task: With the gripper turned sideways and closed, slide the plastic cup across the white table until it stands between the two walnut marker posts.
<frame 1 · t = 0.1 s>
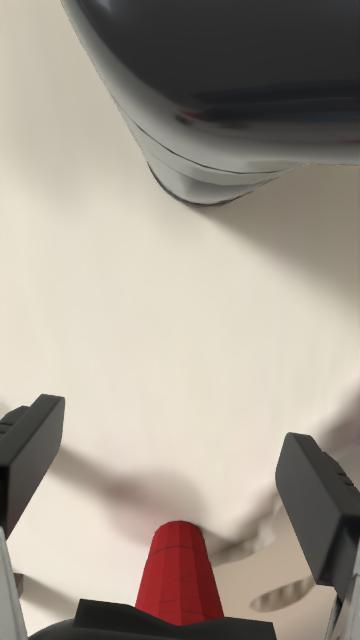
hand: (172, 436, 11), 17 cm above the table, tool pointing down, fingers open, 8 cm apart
post 1: (10, 581, 38), on the table
plastic cup: (180, 537, 36), on the table
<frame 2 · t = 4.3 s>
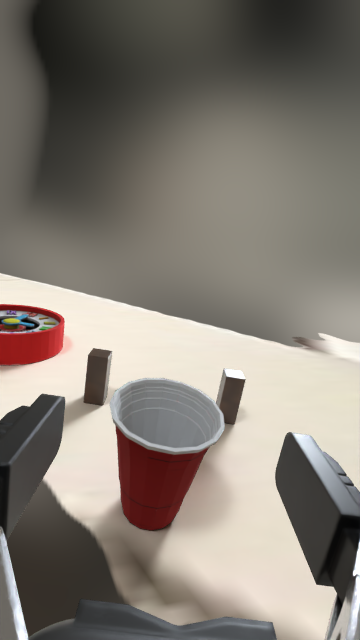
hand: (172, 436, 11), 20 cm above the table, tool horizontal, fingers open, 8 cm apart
post 2: (223, 418, 51), on the table
toy clock: (10, 345, 64), on the table
post 1: (95, 399, 50), on the table
plastic cup: (150, 508, 32), on the table
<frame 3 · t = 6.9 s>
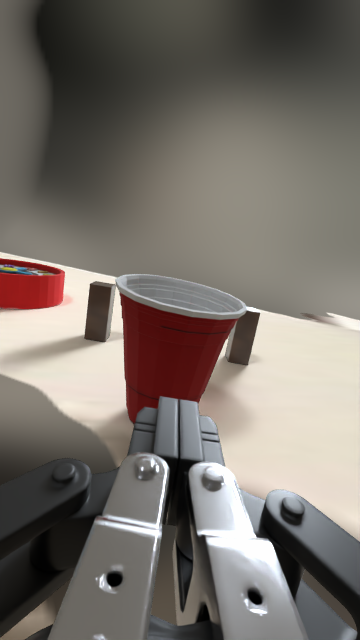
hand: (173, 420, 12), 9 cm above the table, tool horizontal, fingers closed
post 2: (236, 359, 47), on the table
toy clock: (7, 296, 61), on the table
post 1: (97, 337, 46), on the table
plastic cup: (159, 419, 28), on the table
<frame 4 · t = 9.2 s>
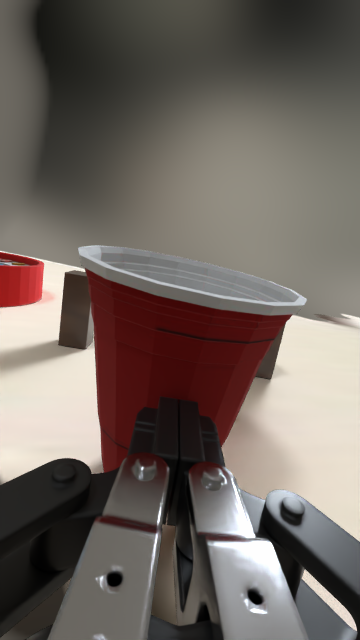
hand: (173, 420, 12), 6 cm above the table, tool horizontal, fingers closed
post 2: (255, 372, 37), on the table
post 1: (76, 343, 36), on the table
plastic cup: (155, 476, 18), on the table, touching gripper
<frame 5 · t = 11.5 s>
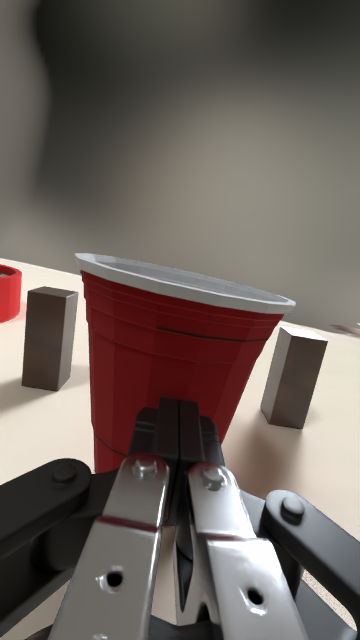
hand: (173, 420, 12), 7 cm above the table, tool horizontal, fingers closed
post 2: (280, 417, 28), on the table
post 1: (47, 381, 27), on the table
plastic cup: (150, 487, 17), on the table, touching gripper
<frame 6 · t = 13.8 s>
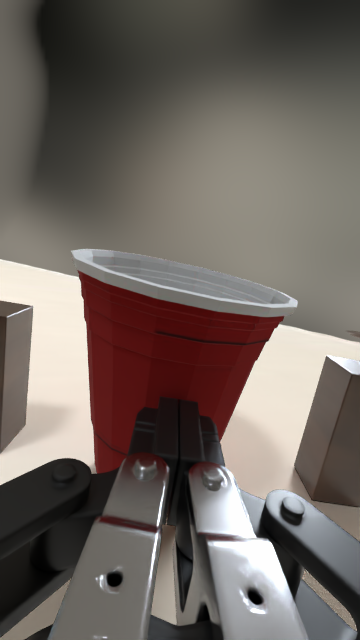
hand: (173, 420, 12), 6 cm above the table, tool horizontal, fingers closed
post 2: (324, 485, 20), on the table
plastic cup: (149, 481, 18), on the table, touching gripper
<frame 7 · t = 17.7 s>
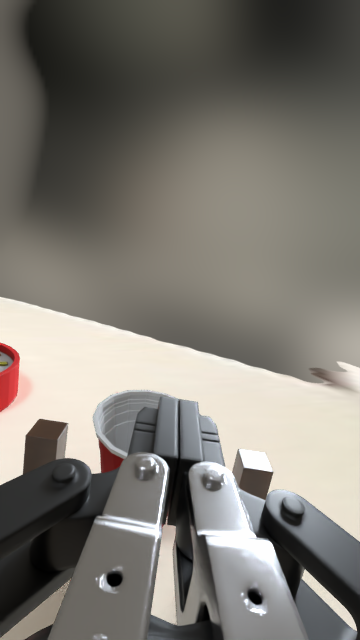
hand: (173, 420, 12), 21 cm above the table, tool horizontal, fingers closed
post 2: (238, 523, 34), on the table
post 1: (41, 496, 33), on the table
plastic cup: (134, 524, 32), on the table
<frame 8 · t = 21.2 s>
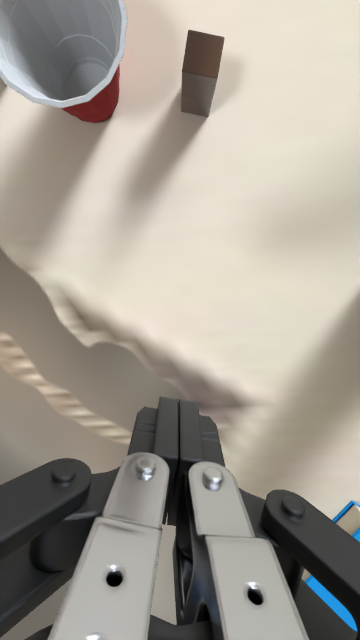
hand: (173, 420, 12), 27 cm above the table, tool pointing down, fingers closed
book: (336, 579, 49), on the table
post 2: (197, 98, 33), on the table
plastic cup: (93, 96, 33), on the table
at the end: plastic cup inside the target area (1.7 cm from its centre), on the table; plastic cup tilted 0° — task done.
